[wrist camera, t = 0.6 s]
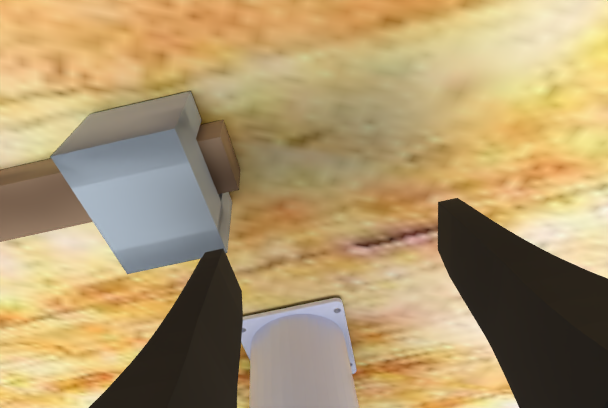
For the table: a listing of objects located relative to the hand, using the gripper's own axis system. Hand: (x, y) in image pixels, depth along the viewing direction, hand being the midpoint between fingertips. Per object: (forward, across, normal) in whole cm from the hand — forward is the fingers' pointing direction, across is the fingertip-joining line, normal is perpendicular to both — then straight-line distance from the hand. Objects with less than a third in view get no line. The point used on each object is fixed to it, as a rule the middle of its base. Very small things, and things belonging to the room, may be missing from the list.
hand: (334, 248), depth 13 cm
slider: (+9, +8, 0) cm, 12 cm away
